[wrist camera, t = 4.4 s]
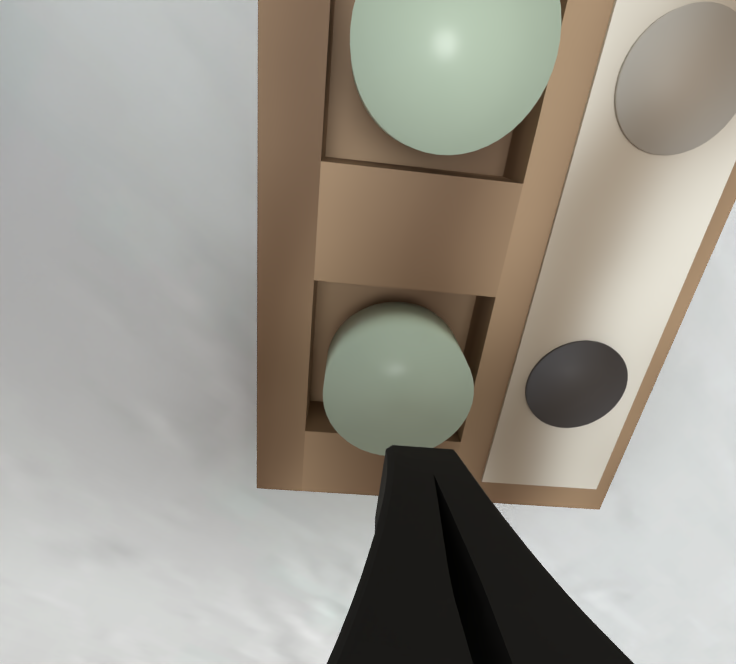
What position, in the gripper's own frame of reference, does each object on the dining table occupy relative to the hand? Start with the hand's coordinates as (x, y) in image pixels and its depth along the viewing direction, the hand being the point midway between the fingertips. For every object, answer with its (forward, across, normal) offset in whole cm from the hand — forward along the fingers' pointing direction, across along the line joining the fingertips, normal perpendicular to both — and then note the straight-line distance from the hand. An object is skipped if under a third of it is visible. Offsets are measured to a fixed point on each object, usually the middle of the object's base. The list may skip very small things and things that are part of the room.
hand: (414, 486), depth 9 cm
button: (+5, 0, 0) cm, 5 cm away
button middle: (+5, 0, -8) cm, 9 cm away
